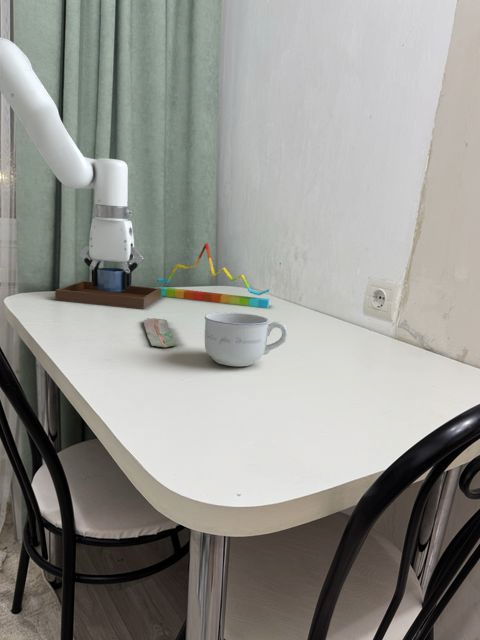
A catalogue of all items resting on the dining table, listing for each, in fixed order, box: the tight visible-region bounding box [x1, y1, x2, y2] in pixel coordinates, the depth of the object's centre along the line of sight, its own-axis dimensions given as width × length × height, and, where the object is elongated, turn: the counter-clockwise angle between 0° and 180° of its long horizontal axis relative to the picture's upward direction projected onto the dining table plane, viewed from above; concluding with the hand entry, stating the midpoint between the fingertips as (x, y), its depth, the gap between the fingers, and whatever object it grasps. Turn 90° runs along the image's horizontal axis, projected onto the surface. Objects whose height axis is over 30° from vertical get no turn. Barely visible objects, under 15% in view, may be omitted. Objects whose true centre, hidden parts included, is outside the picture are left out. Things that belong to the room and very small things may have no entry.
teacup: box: [204, 311, 289, 367], centre depth 85 cm, size 14×11×8 cm
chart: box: [156, 242, 271, 309], centre depth 134 cm, size 30×3×15 cm, turn 82°
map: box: [143, 317, 179, 348], centre depth 99 cm, size 5×20×1 cm, turn 17°
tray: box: [54, 280, 162, 310], centre depth 127 cm, size 21×15×2 cm
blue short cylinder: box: [97, 267, 126, 292], centre depth 126 cm, size 7×7×5 cm
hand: (111, 286), depth 126 cm, fingers closed on blue short cylinder, 6 cm apart
